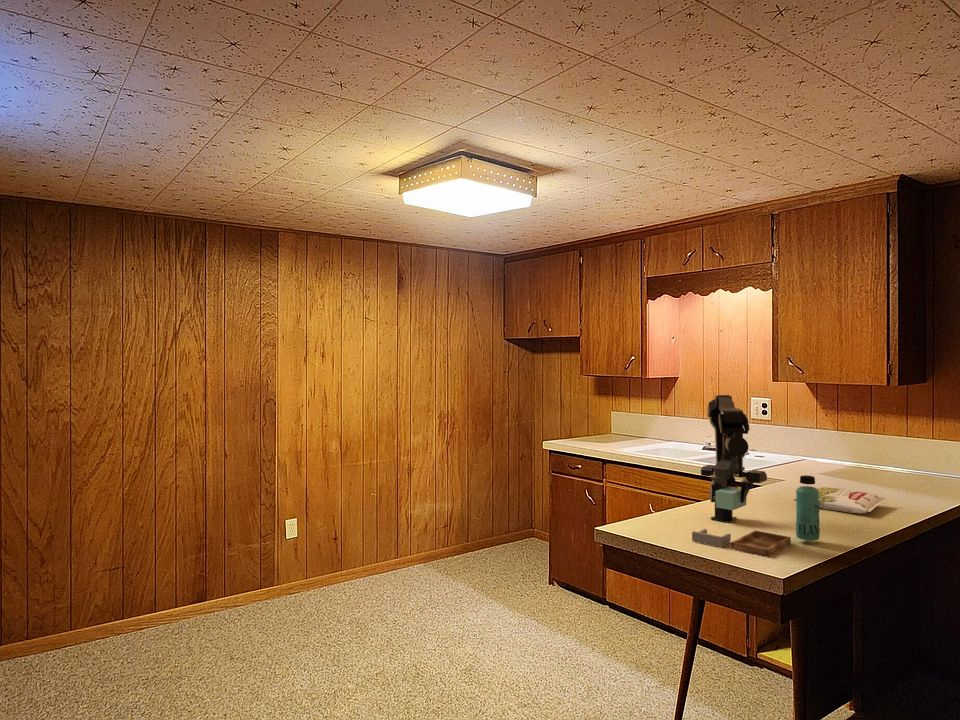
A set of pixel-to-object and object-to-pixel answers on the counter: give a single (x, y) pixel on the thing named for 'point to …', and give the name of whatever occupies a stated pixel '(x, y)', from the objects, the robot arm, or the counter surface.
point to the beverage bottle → (807, 510)
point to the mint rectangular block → (729, 498)
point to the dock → (710, 538)
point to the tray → (761, 543)
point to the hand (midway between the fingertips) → (733, 501)
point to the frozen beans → (847, 500)
